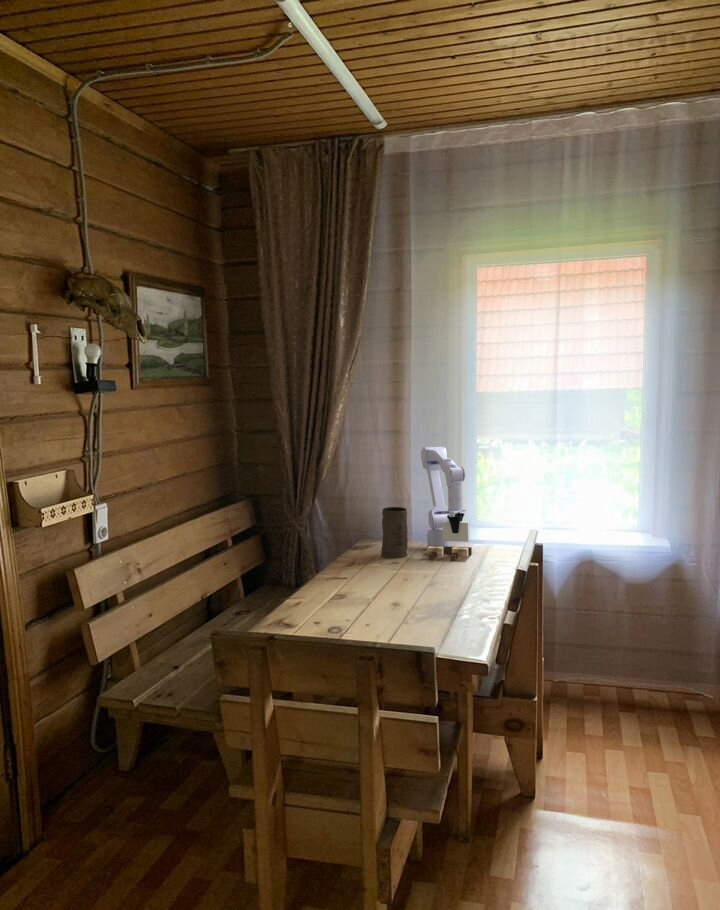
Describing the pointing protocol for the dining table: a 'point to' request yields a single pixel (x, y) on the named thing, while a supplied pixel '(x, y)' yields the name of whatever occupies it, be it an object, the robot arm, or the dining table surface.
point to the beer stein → (394, 533)
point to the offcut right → (460, 551)
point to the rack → (447, 555)
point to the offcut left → (435, 550)
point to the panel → (460, 536)
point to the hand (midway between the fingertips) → (456, 532)
